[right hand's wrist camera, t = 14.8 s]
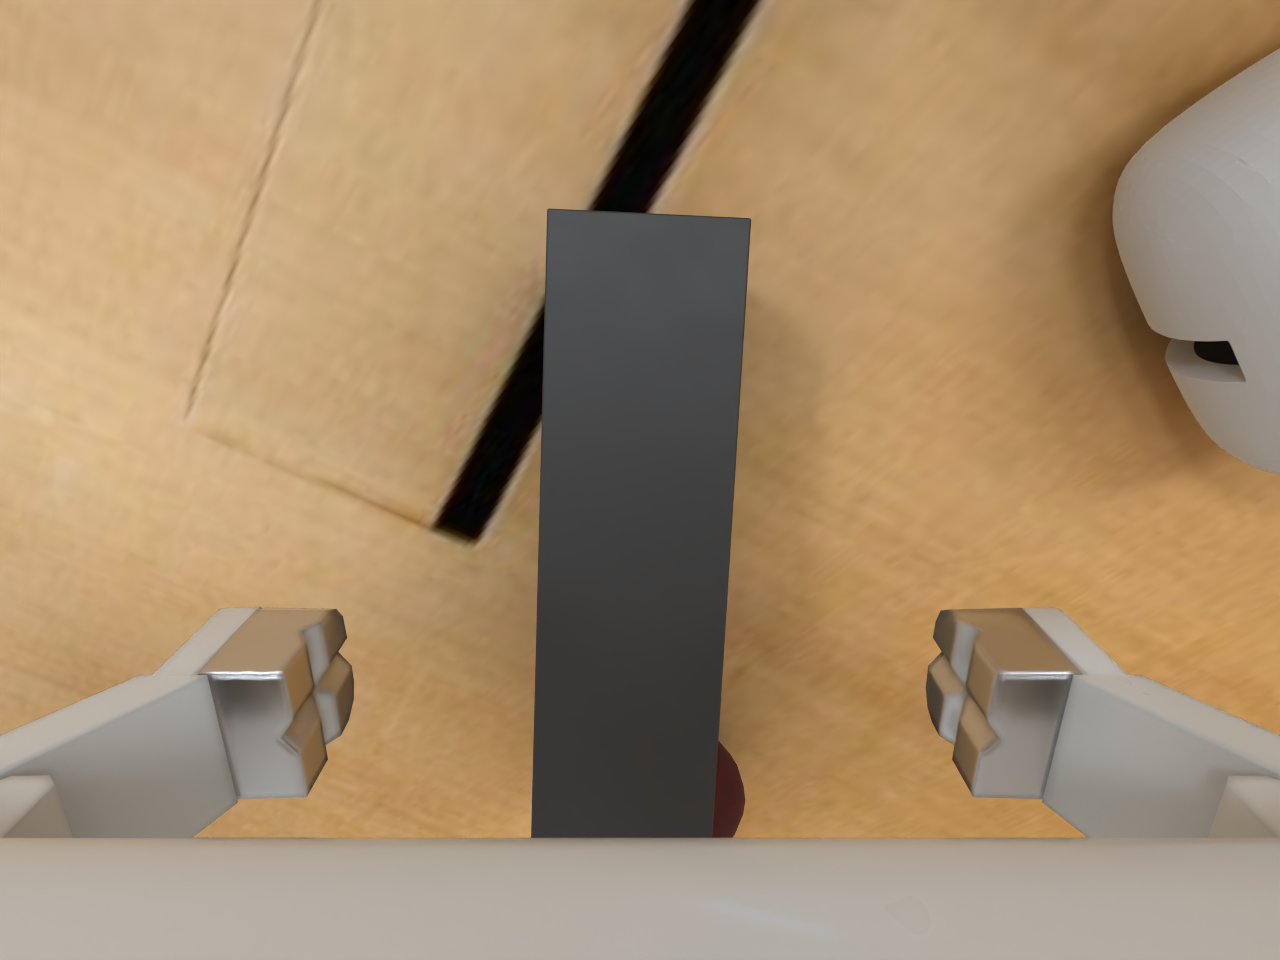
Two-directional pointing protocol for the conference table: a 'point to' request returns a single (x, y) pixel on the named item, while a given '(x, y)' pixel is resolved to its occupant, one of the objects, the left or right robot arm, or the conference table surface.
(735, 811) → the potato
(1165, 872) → the right robot arm
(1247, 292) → the grey rounded piece
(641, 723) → the box
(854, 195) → the conference table surface
